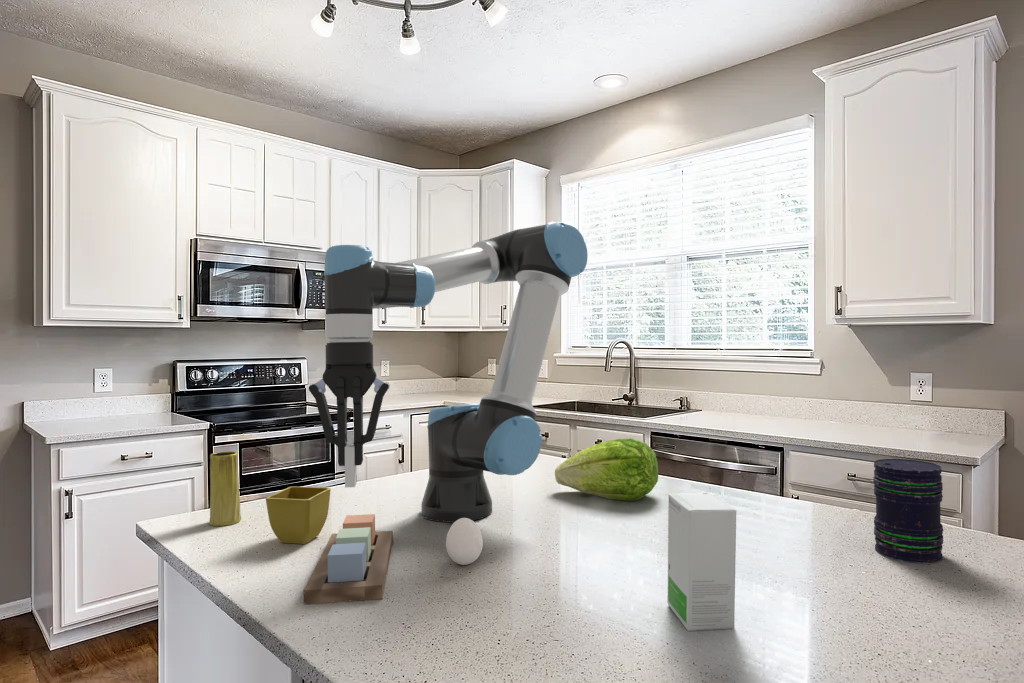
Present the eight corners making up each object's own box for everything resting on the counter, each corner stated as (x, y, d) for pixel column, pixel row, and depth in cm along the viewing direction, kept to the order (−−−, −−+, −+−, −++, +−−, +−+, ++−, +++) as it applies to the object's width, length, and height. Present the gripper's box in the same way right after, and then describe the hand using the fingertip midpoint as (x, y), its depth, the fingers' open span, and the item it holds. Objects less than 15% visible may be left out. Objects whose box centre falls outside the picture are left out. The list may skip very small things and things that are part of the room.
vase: (214, 528, 127) (212, 457, 127) (205, 522, 131) (203, 453, 131) (245, 522, 131) (244, 453, 131) (235, 516, 135) (234, 449, 135)
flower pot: (309, 549, 113) (308, 499, 113) (265, 546, 115) (264, 497, 115) (332, 533, 122) (331, 487, 122) (291, 531, 124) (290, 486, 124)
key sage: (371, 550, 106) (370, 527, 106) (368, 561, 101) (367, 536, 101) (340, 552, 105) (340, 528, 105) (336, 563, 100) (335, 538, 100)
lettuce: (565, 456, 161) (545, 435, 149) (661, 447, 152) (647, 425, 141) (564, 512, 154) (543, 495, 142) (665, 507, 145) (651, 488, 133)
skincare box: (666, 604, 87) (665, 492, 87) (713, 602, 88) (711, 490, 88) (688, 633, 79) (686, 509, 79) (739, 630, 80) (737, 507, 79)
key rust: (375, 536, 114) (374, 514, 114) (372, 545, 109) (372, 522, 109) (346, 537, 113) (346, 515, 113) (343, 546, 108) (342, 523, 108)
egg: (441, 561, 106) (441, 515, 106) (475, 555, 108) (474, 511, 108) (452, 573, 100) (452, 525, 100) (488, 567, 103) (487, 520, 103)
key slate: (366, 568, 98) (365, 542, 98) (362, 580, 93) (362, 553, 93) (333, 570, 97) (332, 544, 97) (328, 582, 92) (327, 555, 92)
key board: (393, 541, 117) (393, 530, 117) (382, 598, 91) (382, 584, 91) (332, 544, 115) (331, 533, 115) (303, 604, 90) (303, 590, 90)
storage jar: (933, 546, 109) (932, 460, 109) (952, 566, 100) (951, 472, 100) (868, 541, 112) (867, 457, 112) (881, 560, 103) (879, 468, 103)
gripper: (391, 340, 107) (392, 479, 107) (312, 341, 106) (314, 481, 106) (388, 340, 100) (389, 489, 100) (303, 341, 98) (305, 492, 98)
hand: (350, 485), depth 103 cm, fingers closed
